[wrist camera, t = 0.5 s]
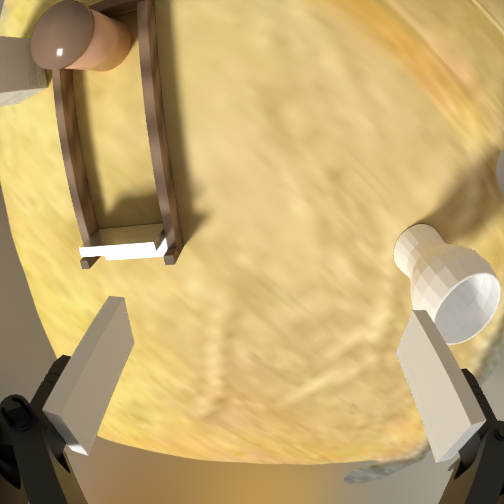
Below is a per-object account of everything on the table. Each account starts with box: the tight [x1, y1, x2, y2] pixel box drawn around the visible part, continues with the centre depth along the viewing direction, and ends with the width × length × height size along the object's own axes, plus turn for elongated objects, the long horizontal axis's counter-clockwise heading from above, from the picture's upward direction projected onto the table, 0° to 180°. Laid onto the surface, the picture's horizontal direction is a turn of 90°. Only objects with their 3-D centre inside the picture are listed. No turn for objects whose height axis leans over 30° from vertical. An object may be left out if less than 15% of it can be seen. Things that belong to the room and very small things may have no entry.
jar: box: [31, 0, 132, 71], centre depth 25 cm, size 7×7×11 cm
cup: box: [394, 224, 501, 345], centre depth 34 cm, size 11×11×15 cm
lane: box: [52, 0, 184, 269], centre depth 33 cm, size 33×13×5 cm, turn 5°
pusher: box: [79, 223, 168, 260], centre depth 39 cm, size 5×10×6 cm, turn 95°
